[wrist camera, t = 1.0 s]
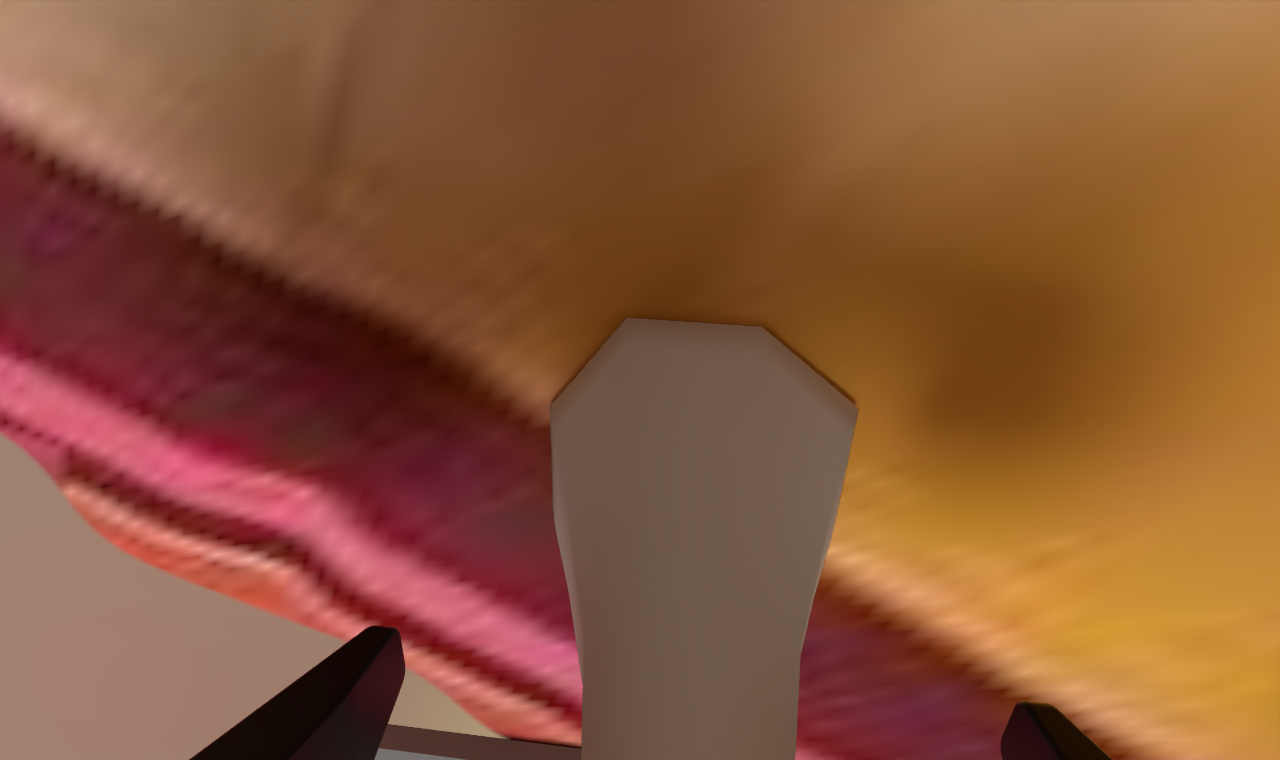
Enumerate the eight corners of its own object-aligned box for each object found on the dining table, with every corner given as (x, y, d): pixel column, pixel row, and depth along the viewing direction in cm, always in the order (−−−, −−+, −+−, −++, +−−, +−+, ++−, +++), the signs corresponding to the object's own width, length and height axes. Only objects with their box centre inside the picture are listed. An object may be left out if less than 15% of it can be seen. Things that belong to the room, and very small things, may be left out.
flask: (768, 610, 16) (843, 1235, 7) (512, 516, 16) (255, 1057, 7) (914, 383, 13) (1339, 969, 4) (602, 259, 13) (359, 626, 4)
